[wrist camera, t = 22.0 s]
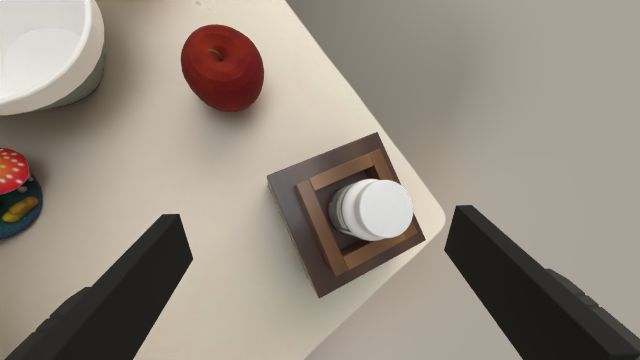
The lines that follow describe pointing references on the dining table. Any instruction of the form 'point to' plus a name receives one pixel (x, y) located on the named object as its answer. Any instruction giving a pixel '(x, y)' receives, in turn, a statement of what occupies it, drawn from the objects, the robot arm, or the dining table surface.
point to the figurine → (17, 194)
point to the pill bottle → (371, 209)
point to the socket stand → (312, 218)
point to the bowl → (49, 53)
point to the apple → (222, 67)
